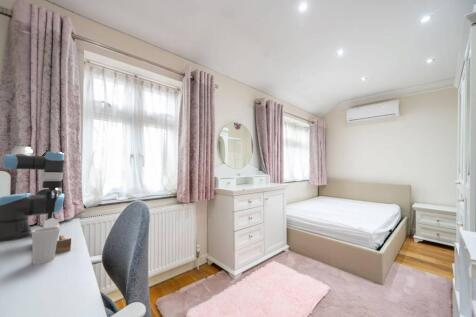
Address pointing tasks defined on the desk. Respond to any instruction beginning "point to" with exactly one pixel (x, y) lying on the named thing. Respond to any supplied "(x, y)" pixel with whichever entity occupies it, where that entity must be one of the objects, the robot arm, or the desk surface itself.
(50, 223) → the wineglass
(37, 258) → the cup
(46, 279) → the desk surface
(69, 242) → the cradle
